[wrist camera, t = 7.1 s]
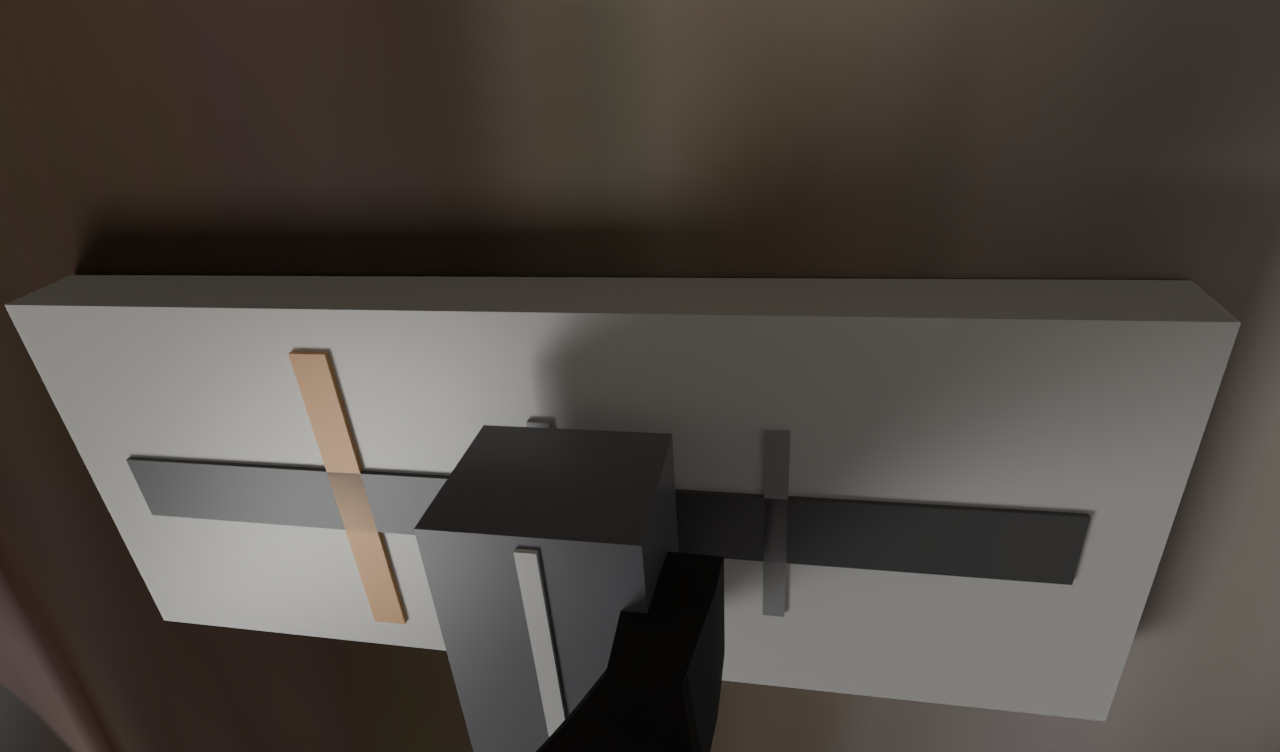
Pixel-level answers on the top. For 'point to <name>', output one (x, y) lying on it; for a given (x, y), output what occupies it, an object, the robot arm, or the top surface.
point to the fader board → (702, 450)
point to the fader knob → (543, 567)
